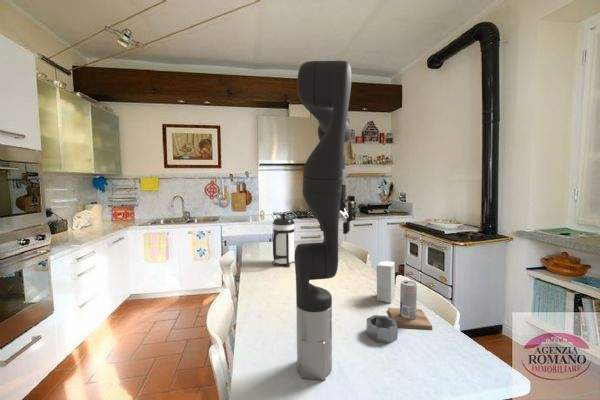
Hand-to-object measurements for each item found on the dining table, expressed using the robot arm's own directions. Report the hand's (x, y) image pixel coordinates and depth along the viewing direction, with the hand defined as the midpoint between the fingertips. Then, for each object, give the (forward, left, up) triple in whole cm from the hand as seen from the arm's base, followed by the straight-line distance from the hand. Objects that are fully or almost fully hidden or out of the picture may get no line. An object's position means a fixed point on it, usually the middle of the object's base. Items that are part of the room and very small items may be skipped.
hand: (334, 232), depth 92 cm
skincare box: (+24, -21, -32) cm, 45 cm away
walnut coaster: (+7, -26, -32) cm, 42 cm away
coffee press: (+65, +30, -32) cm, 78 cm away
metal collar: (-4, -15, -32) cm, 36 cm away
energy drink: (+7, -26, -31) cm, 41 cm away
